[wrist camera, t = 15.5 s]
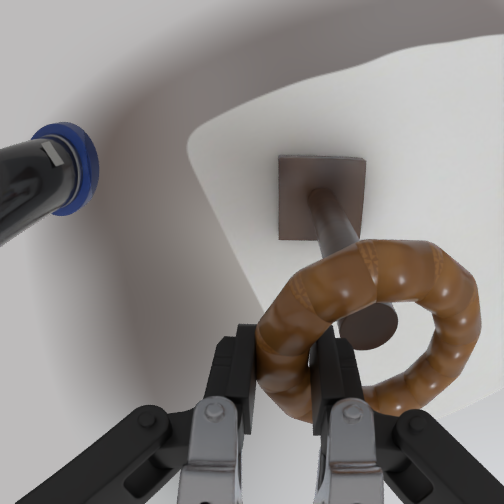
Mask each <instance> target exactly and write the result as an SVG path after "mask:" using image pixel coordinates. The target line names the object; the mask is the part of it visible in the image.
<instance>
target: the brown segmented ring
mask: <svg viewBox="0 0 504 504" xmlns="http://www.w3.org/2000/svg"><path fill="white" fill-rule="evenodd" d="M390 302H415V303H417V304H419V305H420V306H422V307H423V308H425V309H427V310H428V311H430V312H431V313H432V316H433V320H434V324H435V331H434V333H433V336H432V339H431V341H430V344H429V346H428V349H427V351H426V352H425V353H424V354H423V355H422V356H420V357H419V358H418V359H417V360H416V361H415V362H414V363H413V364H412V365H411V366H410V367H409V368H408V369H407V370H406V371H405V372H403V373H401V374H398V375H396V376H394V377H392V378H390V379H387V380H385V381H383V382H380V383H378V384H375V385H373V386H362V390H363V395H364V399H365V401H366V403H368V404H369V405H370V407H371V408H372V409H373V410H375V411H376V412H379V413H381V414H386V415H392V416H398V417H399V416H400V415H401V414H402V413H403V412H405V411H407V410H410V409H420V408H422V407H424V406H425V405H427V404H428V403H429V402H430V401H431V400H433V399H434V398H435V397H436V396H437V395H438V394H440V393H441V392H442V391H443V390H444V389H445V388H446V387H448V386H449V385H450V384H451V383H452V382H453V381H454V380H455V379H456V378H457V377H458V376H459V375H460V374H461V372H462V370H463V369H464V367H465V365H466V363H467V361H468V359H469V357H470V355H471V353H472V351H473V349H474V347H475V345H476V343H477V340H478V338H479V336H480V333H481V313H480V304H479V296H478V288H477V284H476V281H475V279H474V277H473V276H472V275H471V274H470V272H468V271H467V270H466V269H465V268H464V267H463V266H461V265H460V264H459V263H458V262H457V261H455V260H454V259H453V258H452V257H451V256H449V255H448V254H447V253H446V252H444V251H443V250H442V249H441V248H439V247H438V246H437V245H435V244H433V243H431V242H428V241H418V240H375V239H368V240H361V241H358V242H356V243H353V244H351V245H349V246H347V247H345V248H343V249H341V250H339V251H337V252H335V253H333V254H331V255H329V256H327V257H325V258H323V259H321V260H319V261H317V262H315V263H313V264H311V265H309V266H307V267H305V268H303V269H301V270H299V271H298V272H296V273H295V274H294V275H293V276H292V277H291V278H290V279H289V281H288V282H287V284H286V285H285V286H284V288H283V289H282V291H281V292H280V293H279V295H278V296H277V297H276V299H275V300H274V302H273V303H272V304H271V306H270V307H269V308H268V310H267V311H266V312H265V314H264V315H263V316H262V318H261V319H260V321H259V322H258V324H257V326H256V330H255V346H256V379H257V382H258V384H259V385H260V387H261V388H262V389H263V390H264V392H265V393H266V394H267V395H268V396H269V397H270V398H271V399H272V400H273V401H274V402H275V403H276V404H277V405H278V406H279V407H280V408H281V409H282V410H283V411H284V412H285V413H286V414H287V415H288V416H290V417H292V418H294V419H298V420H301V421H304V422H308V423H311V424H313V419H312V401H311V384H310V368H309V366H308V361H309V354H310V348H311V347H312V345H313V344H314V343H315V342H316V341H317V340H318V339H319V338H320V337H321V336H322V334H323V333H324V332H325V331H326V330H327V329H328V328H329V326H330V325H331V324H332V323H333V322H335V321H338V320H340V319H342V318H344V317H346V316H349V315H351V314H353V313H355V312H357V311H359V310H361V309H364V308H366V307H368V306H370V305H372V304H374V303H390Z"/></svg>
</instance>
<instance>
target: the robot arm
mask: <svg viewBox="0 0 504 504" xmlns="http://www.w3.org/2000/svg"><path fill="white" fill-rule="evenodd" d="M82 180H83V168H82V162H81V158H80V155H79V153H78V151H77V149H76V148H75V146H74V145H73V143H72V142H71V141H70V140H68V139H67V138H66V137H64V136H62V135H59V134H50V135H46V136H43V137H40V138H37V139H34V140H29V141H26V142H22V143H19V144H16V145H12V146H9V147H6V148H3V149H0V247H1V246H3V245H4V244H5V243H7V242H8V241H10V240H11V239H13V238H14V237H16V236H17V235H19V234H20V233H22V232H23V231H25V230H26V229H27V228H29V227H31V226H32V225H34V224H35V223H37V222H39V221H40V220H42V219H43V218H45V217H47V216H48V215H50V214H52V213H53V212H55V211H57V210H58V209H60V208H63V207H65V206H67V205H68V204H70V203H71V202H72V201H73V200H74V199H75V198H76V197H77V195H78V193H79V191H80V189H81V185H82ZM256 326H257V324H238V328H237V333H236V337H228V336H224V338H223V339H222V340H221V341H220V342H219V343H218V344H217V347H216V350H215V354H214V359H213V362H212V366H211V370H210V375H209V378H208V383H207V387H206V391H205V395H204V398H203V399H202V400H201V401H199V402H198V403H197V404H196V406H195V407H194V408H192V409H190V410H188V411H184V412H177V413H170V414H167V413H166V412H165V411H164V410H163V409H162V408H160V407H158V406H155V405H144V406H141V407H138V408H136V409H135V410H133V411H132V412H131V413H130V414H129V415H127V416H126V417H125V418H124V419H123V420H121V421H120V422H119V423H118V424H117V425H115V426H114V427H113V428H112V429H110V430H109V431H108V432H107V433H106V434H105V435H103V436H102V437H101V438H99V439H98V440H97V441H96V442H94V443H93V444H92V445H91V446H90V447H88V448H87V449H86V450H84V451H83V452H82V453H81V454H79V455H78V456H77V457H75V458H74V459H73V460H72V461H70V462H69V463H68V464H66V465H65V466H64V467H63V468H61V469H60V470H59V471H57V472H56V473H55V474H53V475H52V476H51V477H49V478H48V479H47V480H45V481H44V482H43V483H42V484H40V485H39V486H37V487H36V488H35V489H33V490H32V491H31V492H29V493H28V494H27V495H25V496H24V497H22V498H21V499H20V500H18V501H17V502H16V503H15V504H145V503H146V502H147V501H148V500H149V499H150V498H151V497H152V496H153V495H154V494H155V493H157V492H158V491H159V490H160V489H161V488H162V487H163V486H164V485H165V484H166V483H167V482H168V481H169V480H170V479H171V478H172V477H173V476H174V475H175V474H176V473H177V472H178V471H179V470H180V469H181V472H180V480H179V488H178V497H177V504H243V502H242V447H243V441H244V434H249V435H250V434H251V429H252V419H253V409H254V400H255V390H256V380H257V379H256V346H255V330H256ZM309 368H310V384H311V401H312V419H313V435H315V436H318V435H321V447H320V450H319V460H318V471H317V482H316V492H315V498H314V502H313V504H384V487H383V484H384V483H383V480H384V481H385V482H386V484H387V485H388V486H389V487H390V488H391V489H392V491H393V492H394V493H395V494H396V495H397V496H398V498H399V499H400V500H401V501H402V502H403V503H404V504H504V486H503V485H502V484H501V483H500V482H499V481H498V480H497V479H496V478H495V477H494V476H493V475H492V474H491V473H490V472H489V471H488V470H487V469H486V468H484V467H483V465H482V464H481V463H479V462H478V461H477V460H476V459H475V458H474V457H473V456H472V455H471V454H470V453H469V452H468V451H467V450H466V449H465V448H464V447H463V446H462V445H461V444H460V443H459V442H458V441H457V440H456V439H455V438H454V437H453V436H452V435H451V434H449V432H448V431H447V430H445V429H444V428H443V427H442V426H441V425H440V424H439V423H438V422H437V421H436V420H435V419H434V418H433V417H432V416H431V415H430V414H429V413H427V412H426V411H423V410H420V409H410V410H407V411H405V412H403V413H402V414H401V415H400V416H399V417H398V416H392V415H386V414H381V413H379V412H376V411H375V410H373V409H372V408H371V407H370V405H369V404H368V403H366V401H365V399H364V395H363V390H362V385H361V381H360V376H359V371H358V367H357V363H356V359H355V354H354V350H353V346H352V345H351V344H350V343H349V342H348V340H347V339H346V338H335V335H334V329H333V326H332V325H330V326H329V328H328V329H327V330H326V331H325V332H324V333H323V334H322V336H321V337H320V338H319V339H318V340H317V341H316V342H315V343H314V344H313V345H312V347H311V348H310V358H309Z"/></svg>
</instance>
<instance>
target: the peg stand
mask: <svg viewBox="0 0 504 504" xmlns="http://www.w3.org/2000/svg"><path fill="white" fill-rule="evenodd" d="M365 173H366V160H364V159H363V158H353V157H333V156H300V155H279V240H317V241H318V242H319V246H320V250H321V254H322V258H325V257H327V256H329V255H331V254H333V253H335V252H337V251H339V250H341V249H343V248H345V247H347V246H349V245H351V244H353V243H356V242H358V241H360V240H359V239H360V231H361V221H362V211H363V200H364V187H365ZM337 324H338V329H339V334H340V338H346V339H347V340H348V342H349V343H350V344H351V345H352V346H353V349H355V350H370V349H374V348H377V347H379V346H381V345H383V344H384V343H386V342H387V341H388V340H389V339H390V338H391V337H392V336H393V334H394V333H395V331H396V329H397V325H398V317H397V314H396V312H395V309H394V307H393V305H392V303H391V302H390V303H374V304H372V305H370V306H368V307H366V308H364V309H361V310H359V311H357V312H355V313H353V314H351V315H349V316H346V317H344V318H342V319H340V320H338V321H337Z"/></svg>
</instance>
